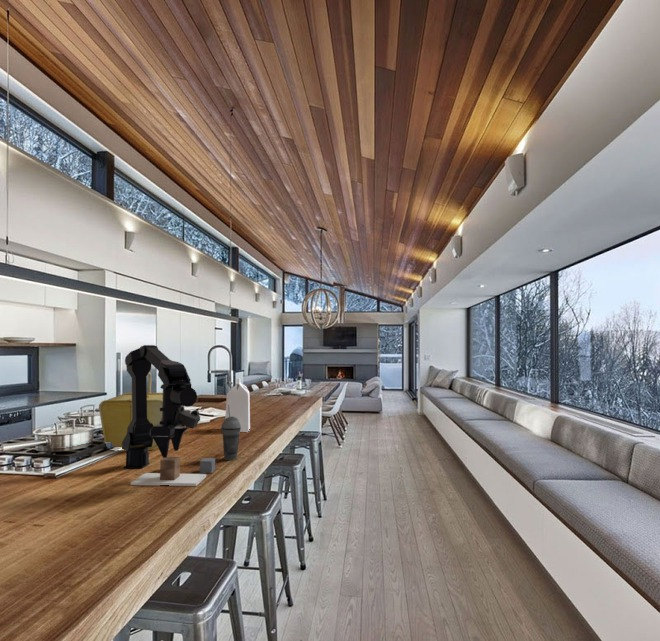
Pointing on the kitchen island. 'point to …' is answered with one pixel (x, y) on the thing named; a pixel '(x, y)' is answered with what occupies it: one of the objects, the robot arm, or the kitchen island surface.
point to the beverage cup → (230, 436)
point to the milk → (239, 405)
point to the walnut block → (169, 468)
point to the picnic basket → (127, 415)
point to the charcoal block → (207, 465)
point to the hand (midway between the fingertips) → (170, 454)
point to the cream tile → (180, 481)
